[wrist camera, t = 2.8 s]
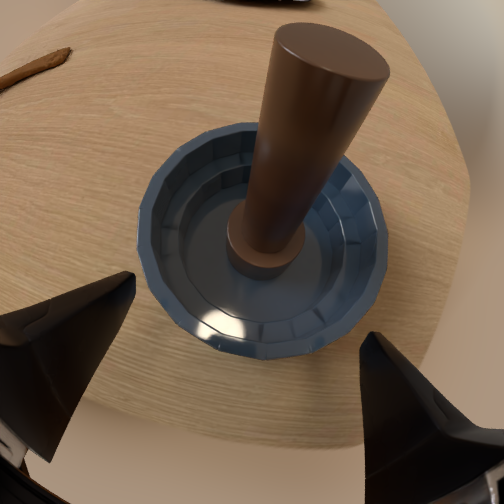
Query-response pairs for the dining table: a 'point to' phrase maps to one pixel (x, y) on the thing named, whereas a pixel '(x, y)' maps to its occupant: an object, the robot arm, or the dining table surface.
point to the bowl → (246, 289)
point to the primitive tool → (34, 67)
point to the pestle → (300, 139)
